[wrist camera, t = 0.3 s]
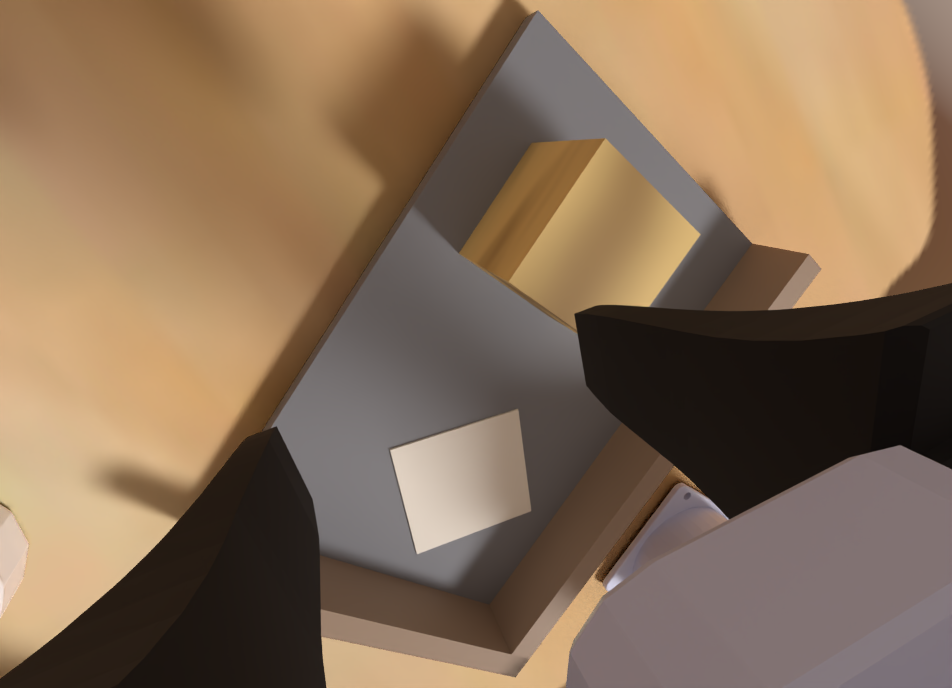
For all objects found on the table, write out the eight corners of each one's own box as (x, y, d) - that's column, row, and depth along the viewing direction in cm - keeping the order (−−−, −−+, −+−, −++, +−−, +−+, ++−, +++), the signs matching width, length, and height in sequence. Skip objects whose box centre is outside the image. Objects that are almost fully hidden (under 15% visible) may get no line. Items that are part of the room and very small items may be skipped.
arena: (747, 253, 26) (821, 268, 22) (487, 611, 28) (515, 677, 24) (526, 17, 18) (582, -17, 15) (198, 529, 21) (180, 606, 17)
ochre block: (615, 218, 21) (700, 234, 17) (547, 315, 22) (613, 356, 17) (531, 142, 19) (605, 138, 14) (458, 253, 19) (508, 281, 15)
